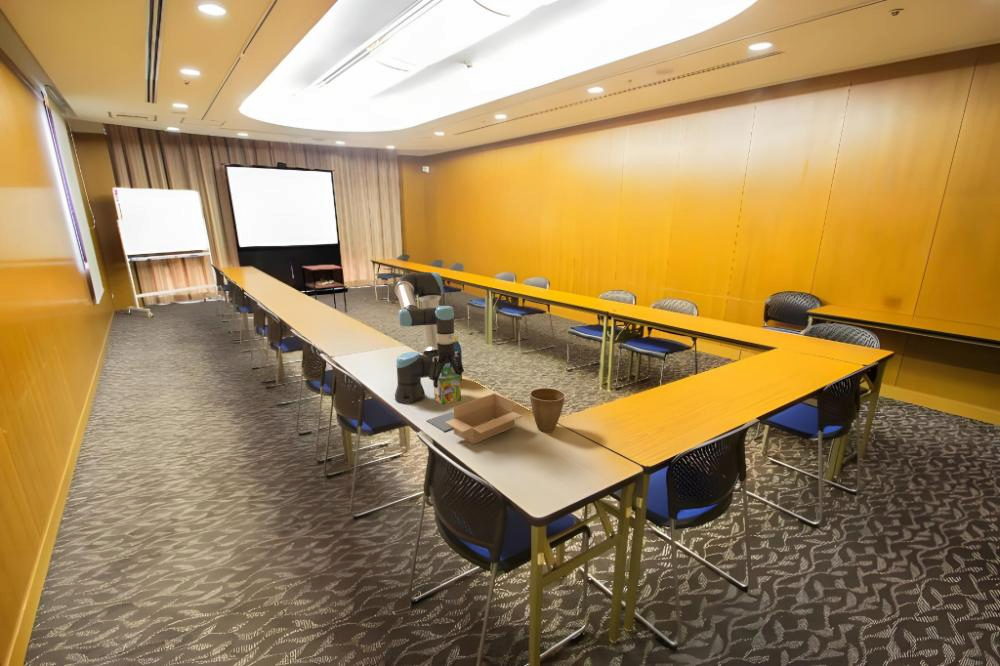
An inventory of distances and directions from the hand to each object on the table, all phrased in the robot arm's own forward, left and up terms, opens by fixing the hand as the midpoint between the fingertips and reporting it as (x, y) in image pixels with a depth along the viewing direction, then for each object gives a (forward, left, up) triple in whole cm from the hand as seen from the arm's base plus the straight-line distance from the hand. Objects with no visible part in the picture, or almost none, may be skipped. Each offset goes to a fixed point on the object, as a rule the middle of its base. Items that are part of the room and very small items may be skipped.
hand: (447, 391), depth 193 cm
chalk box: (0, 0, -5) cm, 5 cm away
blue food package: (-42, +32, -15) cm, 55 cm away
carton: (+19, +5, -15) cm, 25 cm away
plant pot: (+34, +28, -15) cm, 47 cm away
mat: (0, 0, -15) cm, 15 cm away
